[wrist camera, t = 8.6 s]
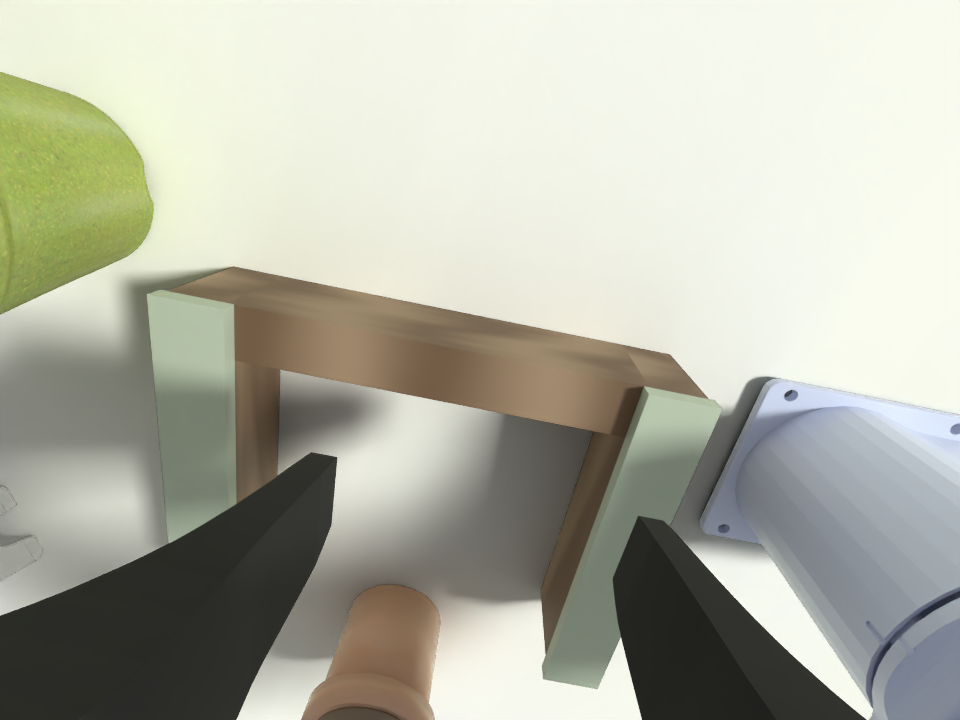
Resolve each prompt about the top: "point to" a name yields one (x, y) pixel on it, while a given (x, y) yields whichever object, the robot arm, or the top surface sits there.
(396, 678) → the seedling pot
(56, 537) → the top surface
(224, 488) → the green brown u-shaped frame
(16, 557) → the portable electronic device stand
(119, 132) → the plant pot
